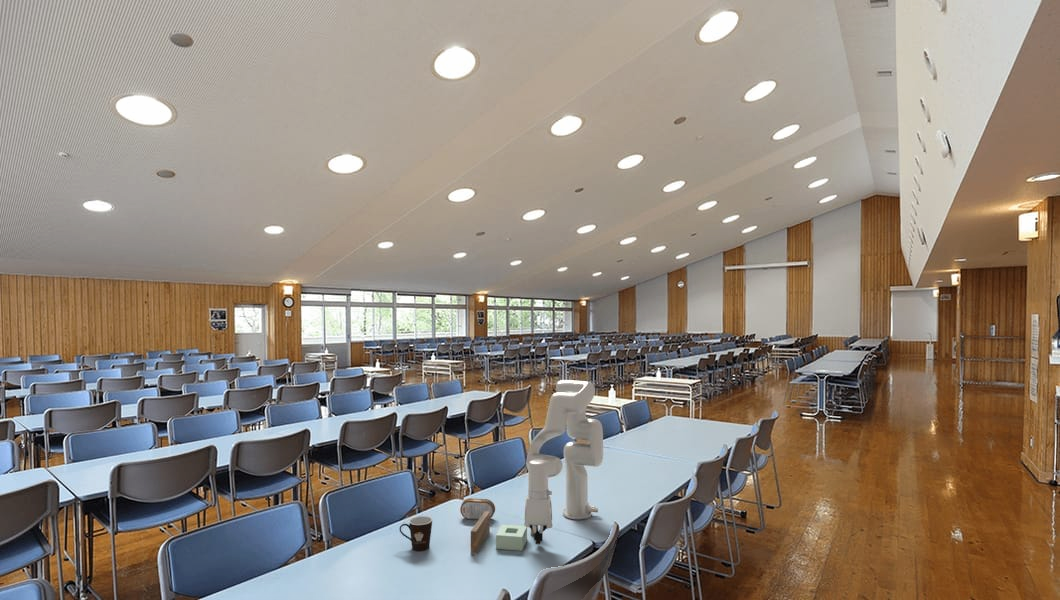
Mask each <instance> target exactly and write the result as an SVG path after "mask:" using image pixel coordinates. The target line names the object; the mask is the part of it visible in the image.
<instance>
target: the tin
mask: <svg viewBox="0 0 1060 600" xmlns="http://www.w3.org/2000/svg"><path fill="white" fill-rule="evenodd" d="M485 511H489V512H490V519H492V517H493V516H494V515H495V512H496V506H495V503H494V502H493V501H492V500H491V499H487V498H466V499H465V500H463V501H462V503H461V505H460V511H459V512H460V514H461V516H462V517H463V518H464V519H466V520H475V521H478V520H479V519H480V517H481V516H482V515H483V513H484V512H485Z"/></svg>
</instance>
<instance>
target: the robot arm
mask: <svg viewBox="0 0 1060 600" xmlns="http://www.w3.org/2000/svg"><path fill="white" fill-rule="evenodd" d="M555 390H556V392H554V393H553V394H552V395H551V397H550V399H549V403H548V404H549V405H548V409H547V413H546V418H545V423H544V427H543V428H542V429H541V430H540V431H539V432H538V433H537V434H536V435H535V436H534V438H533V439H532V440H531V442H530V444H529V448H528V453H527V455H526V463H525V464H526V469H527V472H528V477H527V478H528V479H527V480H528V483H527V484H528V485H527V486H528V495H527V496H526V499H525V507H524V524H523V526H526V527H527V528H530V531H531V530H532V531H533V533H534V536H533V541H534V542H535V545H541V543H542V542H543V537H544V536H543V533H544V532H545V531H546V530H549V529H553V522H552V521H553V510H552V509H553V508H552V499H551V496H552V495H553V491H552V490H550V489H549V478H554V477H556V476H558V475H559V474H560V473H561V472H562V470H563V461H562V460H561V458H559V457H558V456H554V455H548V454H541V453H540V450H541V448H542V446H543V445H544V444H545V443H546V442H547V441H549V440H551V439H553V438H555V437H559V436H561V435H563V434H565V432H567V433H566V434H567V436H568V437H569V438H571V439H573V440H580V441H569V442H567V443H565V445H564V446H563V447H564V448H563V458H564V459H563V460H564V464H565V495H566V496H565V497H566V498H565V499H566V500H565V501H566V502H565V504H566V505H565V509H563V510H562V516H564V518H567V519H571V520H577V521H578V520H586V519H588V518H590V517H592V513H599V507H596V506H595V505H592V506H591V505H590V503H589V501H588V498H589V495H588V493H589V492H588V491H589V488H588V487H589V486H588V484H589V483H588V482H589V481H588V477H589V476H588V472H587V469H586V467H585V466H587V467H595V468H597V467H600V466H601V465H602V463H603V460H604V431H603V424H602V423H601V421H600V420H599V419H596V418H589V417H587V416H586V413H587V411H586V409H587V407H588V406H589V405H590V403H591V402H592V401H593V399H594V398H595V395H596V388H595V385H594V384H593V382H591V381H587V380H575V379H574V380H573V379H562V380H559V381H557V383H556V385H555ZM583 441H587V442H583ZM537 525H538V526H540V527H539V528H538V529H537Z"/></svg>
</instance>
